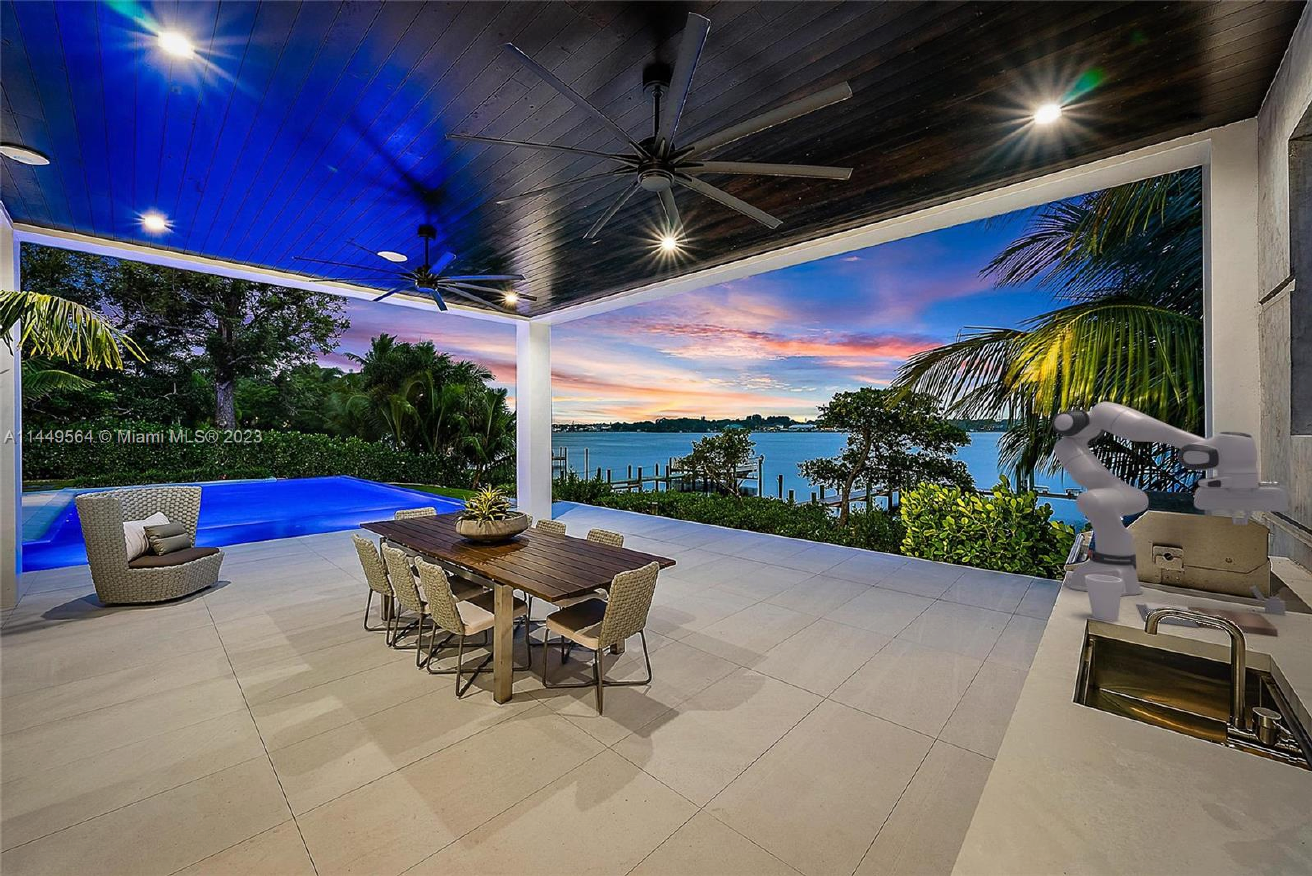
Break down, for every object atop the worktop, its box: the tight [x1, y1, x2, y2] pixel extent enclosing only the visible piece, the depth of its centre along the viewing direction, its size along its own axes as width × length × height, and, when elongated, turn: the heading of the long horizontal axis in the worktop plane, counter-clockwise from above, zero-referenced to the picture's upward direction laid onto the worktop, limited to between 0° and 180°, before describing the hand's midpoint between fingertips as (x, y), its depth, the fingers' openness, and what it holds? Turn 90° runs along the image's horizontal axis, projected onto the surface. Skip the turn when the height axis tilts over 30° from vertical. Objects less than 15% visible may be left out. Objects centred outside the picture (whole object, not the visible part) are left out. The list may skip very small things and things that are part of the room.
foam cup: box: [1085, 575, 1123, 622], centre depth 171 cm, size 10×9×13 cm
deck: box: [1187, 605, 1279, 637], centre depth 161 cm, size 16×15×2 cm
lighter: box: [1249, 585, 1286, 617], centre depth 168 cm, size 7×2×8 cm, turn 38°
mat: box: [1135, 603, 1200, 629], centre depth 169 cm, size 12×18×1 cm
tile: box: [1144, 602, 1190, 621], centre depth 169 cm, size 10×7×2 cm
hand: (1240, 524), depth 167 cm, fingers closed
